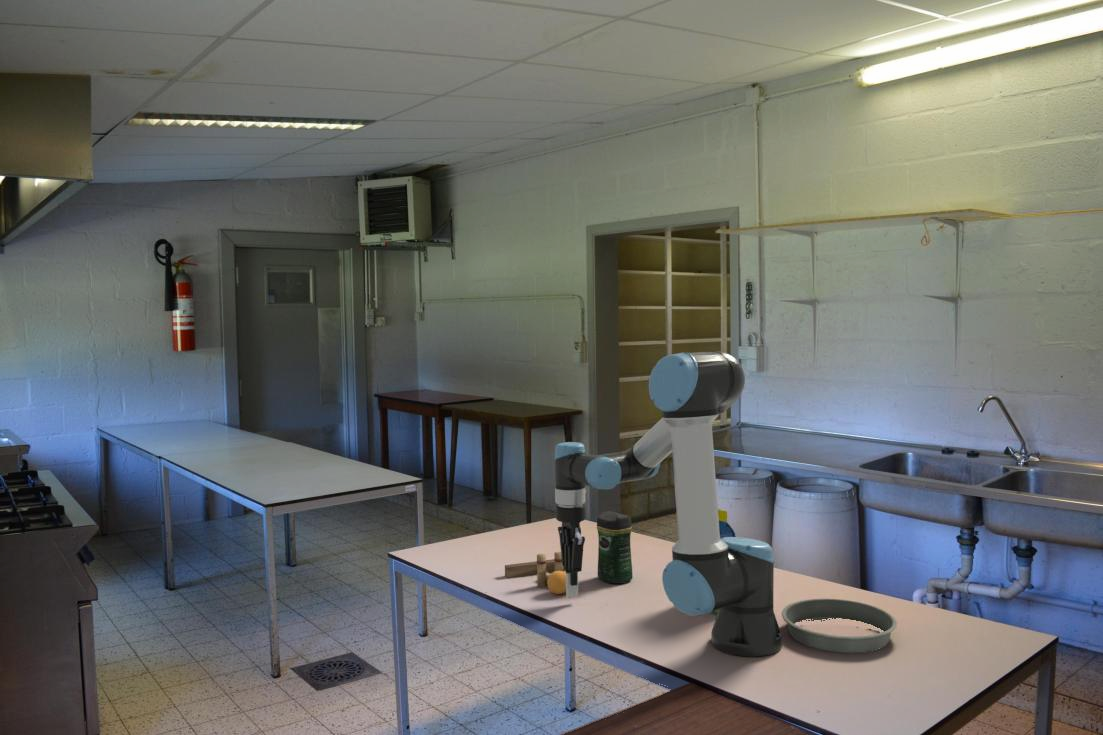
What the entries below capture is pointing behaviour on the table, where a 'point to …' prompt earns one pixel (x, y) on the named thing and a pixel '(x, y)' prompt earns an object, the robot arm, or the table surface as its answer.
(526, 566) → the back rail
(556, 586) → the ball
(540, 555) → the pin
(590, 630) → the table surface
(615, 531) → the coffee jar
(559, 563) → the pin
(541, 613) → the table surface
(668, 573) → the robot arm
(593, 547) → the table surface
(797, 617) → the cake pan
